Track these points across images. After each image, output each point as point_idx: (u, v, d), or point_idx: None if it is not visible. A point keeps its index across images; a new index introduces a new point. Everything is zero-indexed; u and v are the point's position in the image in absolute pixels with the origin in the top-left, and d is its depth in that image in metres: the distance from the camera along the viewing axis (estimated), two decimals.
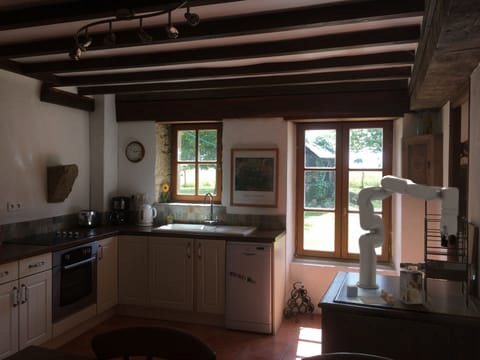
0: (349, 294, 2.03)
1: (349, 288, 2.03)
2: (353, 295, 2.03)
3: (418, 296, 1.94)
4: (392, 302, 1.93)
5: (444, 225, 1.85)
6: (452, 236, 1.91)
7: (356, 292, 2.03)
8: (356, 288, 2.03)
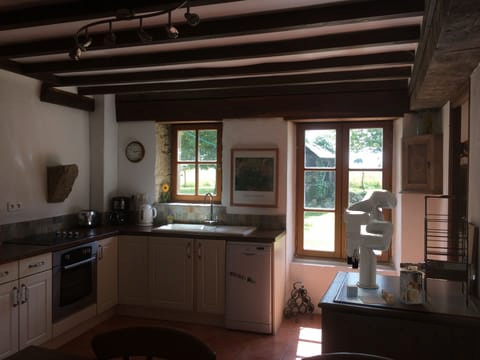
0: (349, 294, 2.03)
1: (349, 288, 2.03)
2: (353, 295, 2.03)
3: (418, 296, 1.94)
4: (392, 302, 1.93)
5: (355, 248, 1.99)
6: (350, 256, 2.09)
7: (356, 292, 2.03)
8: (356, 288, 2.03)
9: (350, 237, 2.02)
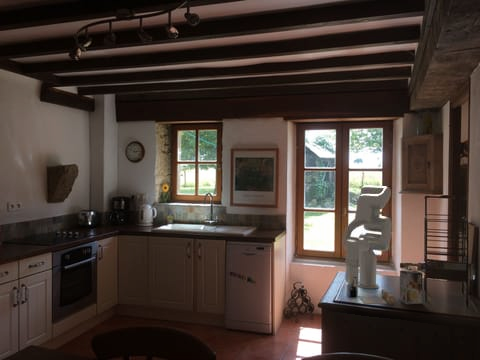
0: (349, 294, 2.03)
1: (349, 288, 2.03)
2: None
3: (418, 296, 1.94)
4: (392, 302, 1.93)
5: (354, 276, 2.00)
6: None
7: (356, 292, 2.03)
8: None
9: (349, 264, 2.02)
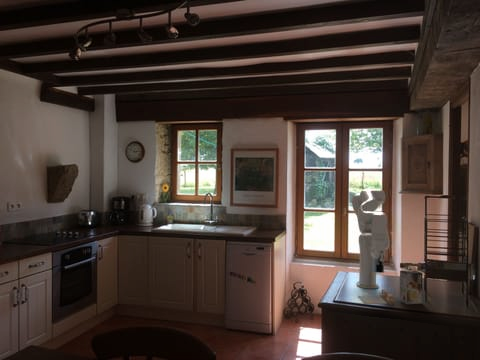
0: (374, 269, 1.97)
1: (375, 263, 1.97)
2: None
3: (418, 296, 1.94)
4: (392, 302, 1.93)
5: (381, 250, 1.94)
6: None
7: (383, 267, 1.97)
8: None
9: (375, 238, 1.96)
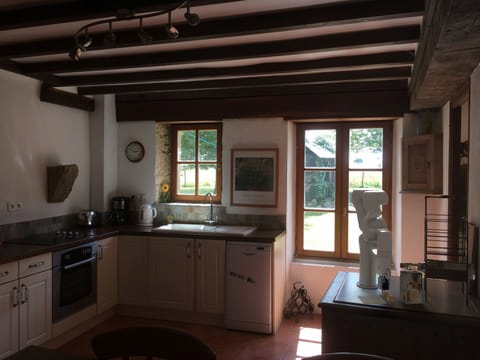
0: (380, 287, 1.96)
1: (381, 280, 1.96)
2: None
3: (418, 296, 1.94)
4: (392, 302, 1.93)
5: (387, 268, 1.93)
6: None
7: (389, 284, 1.96)
8: None
9: (381, 256, 1.95)
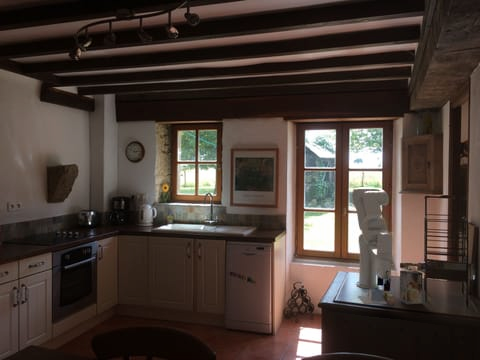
0: (380, 300, 1.97)
1: (373, 299, 1.97)
2: (380, 295, 1.97)
3: (418, 296, 1.94)
4: (392, 302, 1.93)
5: (387, 270, 1.93)
6: (380, 277, 2.03)
7: (377, 292, 1.97)
8: (373, 292, 1.97)
9: (381, 258, 1.95)
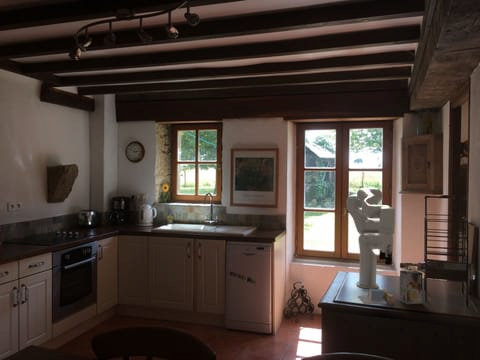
0: (380, 300, 1.97)
1: (373, 299, 1.97)
2: (380, 295, 1.97)
3: (418, 296, 1.94)
4: (392, 302, 1.93)
5: (388, 244, 1.95)
6: (382, 251, 2.05)
7: (377, 292, 1.97)
8: (373, 292, 1.97)
9: (383, 232, 1.97)
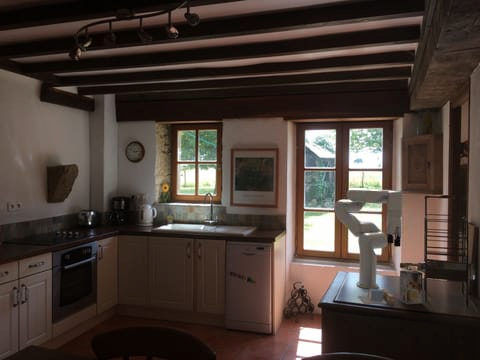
0: (380, 300, 1.97)
1: (373, 299, 1.97)
2: (380, 295, 1.97)
3: (418, 296, 1.94)
4: (392, 302, 1.93)
5: (397, 226, 2.00)
6: (390, 235, 2.10)
7: (377, 292, 1.97)
8: (373, 292, 1.97)
9: (392, 215, 2.02)
